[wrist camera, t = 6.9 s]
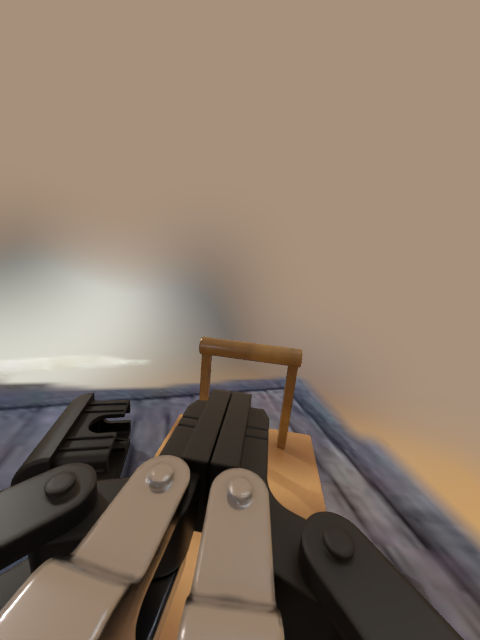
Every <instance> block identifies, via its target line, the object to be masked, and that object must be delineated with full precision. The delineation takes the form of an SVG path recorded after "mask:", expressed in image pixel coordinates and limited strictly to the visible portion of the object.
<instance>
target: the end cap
mask: <svg viewBox="0 0 480 640" xmlns="http://www.w3.org/2000/svg"><path fill="white" fill-rule="evenodd" d="M125 413H130V400H116V401H95V399H94V393H88V394H84V395H81V396H79V397H77V398H76V399H74V400H73V401H72V402H71V403H70V404H69V406H68V407H67V408H66V409H65V411H64V412H63V413H62V415H61V416H60V417H59V418H58V420H57V421H56V422H55V424H54V425H53V426H52V427H51V429H50V430H49V431H48V432H47V434H46V435H45V436H44V438H43V439H42V440H41V441H40V443H39V444H38V445H37V447H36V448H35V449H34V450H33V452H32V453H31V454H30V456H29V457H28V458H27V459H26V461H25V462H24V463H23V465H22V466H21V467H20V468H19V470H18V471H17V472H16V474H15V476H14V477H13V479H12V482H11V486H14V485H16V484H18V483H21V482H23V481H25V480H28V479H30V478H32V477H35V476H37V475H40V474H42V473H44V472H47V471H49V470H51V469H54V468H56V467H59V466H61V465H65V464H70V463H85V464H88V465H90V466H92V467H93V468H94V470H95V472H96V477H97V481H99V480H108V479H117V478H120V475H121V472H122V468H123V465H124V462H125V458H126V455H127V452H128V448H129V445H130V438H129V436H130V431H131V420H121V421H107V420H106V419H105V418H118V417H124V416H125ZM11 486H10V487H11Z"/></svg>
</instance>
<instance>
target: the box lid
mask: <svg viewBox="0 0 480 640" xmlns="http://www.w3.org/2000/svg"><path fill="white" fill-rule="evenodd" d="M199 351H200V354H202V363H201V381H200V399H199V400H204V401H208V399H209V390H210V373H211V360H212V355H214V356H221V357H228V358H235V359H243V360H250V361H257V362H264V363H272V364H280V365H287V366H288V371H287V377H286V383H285V390H284V397H283V403H282V410H281V417H280V424H279V430H274V429H269V439H268V473H267V479H268V485H269V488H270V491H271V492H272V494H273V496H274V497H275V498H276V500H277V501H278V502H279V503H280V504H281V505H283V506H284V507H285V508H287V509H288V510H290V511H292V512H293V513H295V514H297V515H299V516H301V517H303V518H305V519H306V520H307V518H308V517H309V516H311V515H312V514H314V513H316V512H323V511H326V508H325V504H324V499H323V494H322V489H321V484H320V480H319V475H318V470H317V465H316V461H315V456H314V451H313V446H312V441H311V437H310V435H305V434H299V433H293V432H288V426H289V420H290V414H291V408H292V401H293V395H294V389H295V383H296V376H297V370H298V367H300V366H301V363H302V350H301V349H295V348H286V347H279V346H271V345H263V344H256V343H248V342H241V341H233V340H225V339H217V338H210V337H202V338H201V341H200V345H199ZM181 417H183V414H180V416H179V417H178V419H177V420H176V422H175V424H174V425H173V427H172V429H171V430H170V432H169V434H168V435H167V437H166V438H165V440H164V442H163V443H162V445H161V447H160V448H159V450H158V452H157V453H156V455H155V456H154V457H157V456H159V454H160V453H161V451H162V449H163V448H164V446H165V444H166V443H167V441H168V439H169V438H170V436H171V434H172V433H173V431H174V429H175V428H176V426H177V425H178V423H179V421H180V419H181ZM201 535H202V533H201V532H196V531H194V532H193V536H192V539H191V542H190V546H189V549H188V552H187V555H186V563H185V567H184V570H183V573H182V576H181V578H180V581H179V584H178V587H177V589H176V592H175V595H174V598H173V601H172V603H171V606H170V609H169V612H168V615H167V617H166V620H165V623H164V626H163V629H162V631H161V634H160V637H159V640H177V636H178V631H179V626H180V621H181V617H182V613H183V609H184V605H185V601H186V598H187V596H189V594H190V590H191V586H192V581H193V576H194V571H195V566H196V561H197V556H198V551H199V546H200V540H201Z"/></svg>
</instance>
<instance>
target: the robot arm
mask: <svg viewBox="0 0 480 640" xmlns="http://www.w3.org/2000/svg"><path fill="white" fill-rule="evenodd" d="M251 397H252V394H247V393H241V392H234V391H233V393H232V391H227V390H220V389H213V390H212V392H211V395H210V397H209V399H208V401H204V400H197V401H195V402H194V403H192V404H191V405H189V406H188V407H187V409H186V411H185V412H184V414H183V417H181V419H180V421H179V423H178V425H177V426H176V428H175V429H174V431H173V433H172V434H171V436H170V438H169V439H168V441H167V443H166V444H165V446H164V448H163V449H162V451H161V453H160V454H159V456H157V457H154V458H151V459H149V460H147V461H146V462H144V463H143V464H142V465H140V466H139V467H138V468H137V470H136V471H135V472H134V473H133V475H132V476H129V477H125V478H117V479H108V480H99V481H97V477H96V472H95V470H94V468H93V467H92V466H90V465H88V464H85V463H70V464H65V465H61V466H59V467H56V468H54V469H51V470H49V471H47V472H44V473H42V474H40V475H37V476H35V477H32V478H30V479H28V480H25V481H23V482H21V483H18V484H16V485H14V486H11V487H9V488H7V489H4V490H2V491H0V570H2V569H3V568H5V567H7V566H9V565H10V564H12V563H14V562H15V561H17V560H19V559H21V558H22V557H24V556H26V555H27V554H28V559H26V560H24V561H23V562H21V563H19V564H18V565H16V566H14V567H13V568H11V569H9V570H7V571H6V572H4V573H2V574H1V575H0V640H159V637H160V634H161V631H162V629H163V626H164V623H165V620H166V617H167V615H168V612H169V609H170V606H171V603H172V601H173V598H174V595H175V592H176V589H177V587H178V584H179V581H180V578H181V576H182V573H183V570H184V567H185V563H186V555H187V552H188V549H189V546H190V542H191V539H192V536H193V532H194V531H196V532H201V533H202V535H201V540H200V546H199V551H198V556H197V561H196V566H195V571H194V576H193V581H192V586H191V590H190V594H189V596H187V598H186V601H185V605H184V609H183V613H182V617H181V621H180V626H179V631H178V636H177V640H464V639H463V638H462V637H461V636H460V635H459V634H458V633H457V632H456V631H455V630H454V629H453V628H452V627H451V625H450V624H449V623H448V622H447V621H446V620H445V619H444V618H443V617H442V616H441V615H440V614H439V613H438V612H437V611H436V610H435V609H434V608H433V607H432V605H431V604H430V603H429V602H428V601H427V600H426V599H425V598H424V597H423V596H422V595H421V594H420V593H419V592H418V591H417V590H416V589H415V588H414V587H413V585H412V584H411V583H410V582H409V581H408V580H407V579H406V578H405V577H404V576H403V575H402V574H401V573H400V572H399V571H398V570H397V569H396V568H395V567H394V566H393V564H392V563H391V562H390V561H389V560H388V559H387V558H386V557H385V556H384V555H383V554H382V553H381V552H380V551H379V550H378V549H377V548H376V547H375V546H374V544H373V543H372V542H371V541H370V540H369V539H368V538H367V537H366V536H365V535H364V534H363V533H362V532H361V531H360V530H359V529H358V528H357V527H356V526H355V525H354V524H353V523H351V522H350V521H349V520H347V519H346V518H344V517H342V516H340V515H338V514H335V513H332V512H326V511H323V512H316V513H314V514H312V515H311V516H309V517H308V518H307V520H306V519H305V518H303V517H301V516H299V515H297V514H295V513H293V512H292V511H290V510H288V509H287V508H285V507H284V506H283V505H281V504H280V503H279V502H278V501H277V500H276V498H275V497H274V496H273V494H272V492H271V491H270V488H269V485H268V479H267V473H268V439H269V418H268V416H267V414H266V413H265V411H264V410H263V409H257V408H250V406H251Z"/></svg>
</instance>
